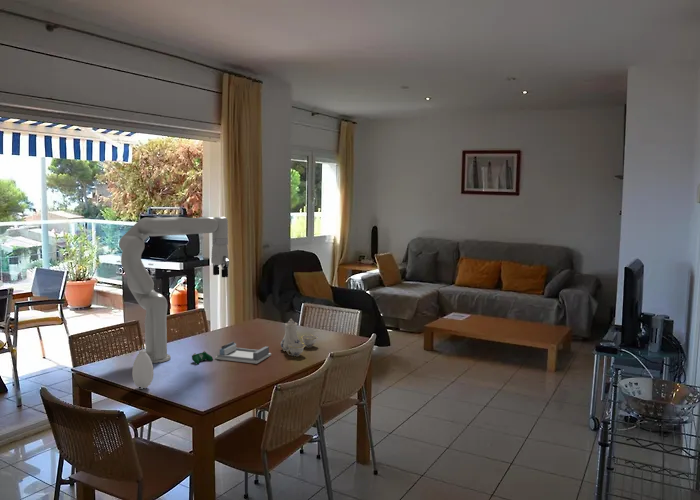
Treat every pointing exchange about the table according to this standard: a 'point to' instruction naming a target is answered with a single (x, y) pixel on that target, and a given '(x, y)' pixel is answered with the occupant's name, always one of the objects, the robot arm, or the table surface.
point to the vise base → (246, 355)
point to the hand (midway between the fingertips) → (220, 276)
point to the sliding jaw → (228, 348)
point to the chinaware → (295, 340)
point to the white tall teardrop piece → (142, 370)
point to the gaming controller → (201, 357)
